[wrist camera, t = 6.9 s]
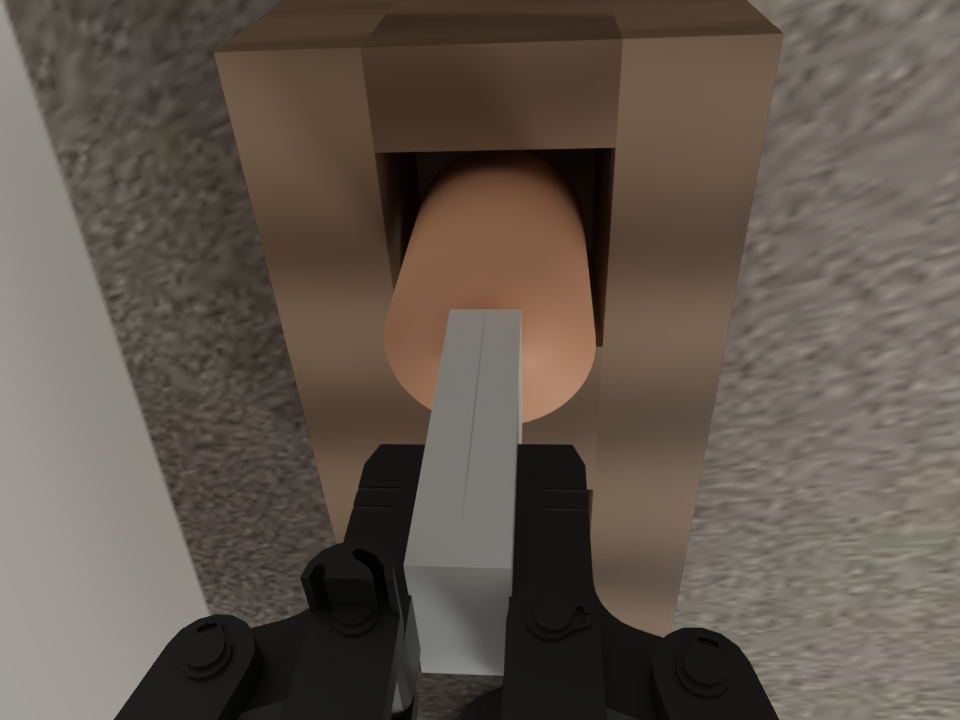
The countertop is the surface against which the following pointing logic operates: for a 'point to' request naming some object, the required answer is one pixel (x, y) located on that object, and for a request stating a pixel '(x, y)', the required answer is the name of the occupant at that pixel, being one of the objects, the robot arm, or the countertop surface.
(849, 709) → the countertop surface
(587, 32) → the brown wooden block
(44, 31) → the countertop surface
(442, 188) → the tan rounded piece
